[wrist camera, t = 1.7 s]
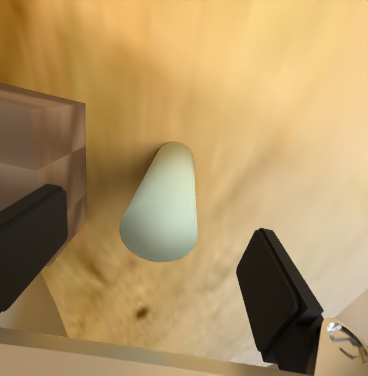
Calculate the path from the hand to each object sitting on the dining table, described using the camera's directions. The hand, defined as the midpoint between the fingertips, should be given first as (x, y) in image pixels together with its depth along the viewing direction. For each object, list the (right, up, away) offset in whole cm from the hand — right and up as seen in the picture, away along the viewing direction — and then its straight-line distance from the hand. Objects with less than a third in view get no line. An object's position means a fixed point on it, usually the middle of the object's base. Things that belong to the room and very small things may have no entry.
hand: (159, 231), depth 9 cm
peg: (0, +5, +8) cm, 9 cm away
